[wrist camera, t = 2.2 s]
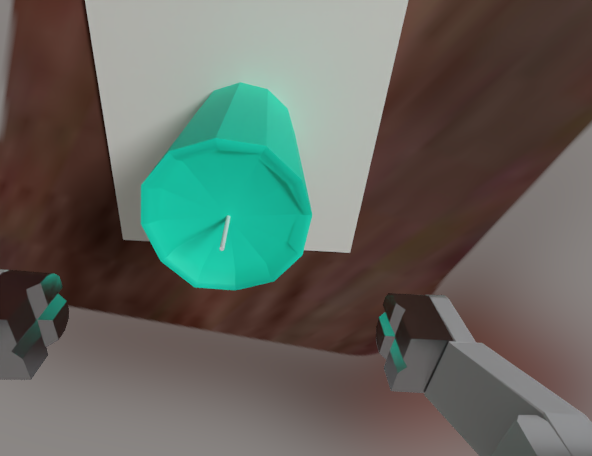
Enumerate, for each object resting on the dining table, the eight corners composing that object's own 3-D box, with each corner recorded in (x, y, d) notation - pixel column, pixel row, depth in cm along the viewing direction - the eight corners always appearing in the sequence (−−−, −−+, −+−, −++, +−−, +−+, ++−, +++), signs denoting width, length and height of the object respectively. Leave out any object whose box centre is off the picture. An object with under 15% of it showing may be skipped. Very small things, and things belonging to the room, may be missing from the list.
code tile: (124, 237, 25) (122, 239, 24) (79, -52, 16) (76, -53, 16) (349, 250, 26) (349, 252, 26) (407, -5, 18) (409, -5, 18)
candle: (267, 196, 23) (265, 339, 13) (179, 156, 22) (96, 283, 11) (313, 115, 21) (356, 211, 10) (217, 60, 19) (156, 113, 9)
